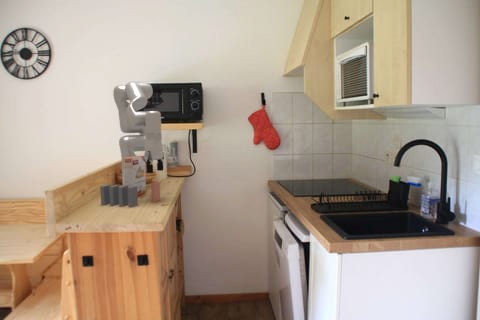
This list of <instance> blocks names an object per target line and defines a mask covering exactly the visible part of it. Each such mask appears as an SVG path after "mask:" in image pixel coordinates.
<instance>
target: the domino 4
mask: <svg viewBox="0 0 480 320" xmlns="http://www.w3.org/2000/svg"><path fill="white" fill-rule="evenodd" d="M138 197H139V196H138V194H137V186H132V187H129V188H128V205H127V206H128V208H134V207H136V206H138V205H139V200H138V199H139V198H138ZM133 206H134V207H133Z"/></svg>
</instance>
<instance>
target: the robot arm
mask: <svg viewBox="0 0 480 320" xmlns="http://www.w3.org/2000/svg"><path fill="white" fill-rule="evenodd" d="M153 92H154V90H153V86H152V85H151V83H149V82H147V81H130V82H128V83H126V84H120V85H116V86H115V87H113V91H112V93H113V94H112V96H113V100H114V103H115V105H116V108H117V111H118V120H119V129H120V131H121V132H122V133H123V134H128V135H123V136H120V138H119V141H118V145H119V150H120V156H121V173H122V174H121V175H122V177H121V178H122V186H124V166H123V158H127V157H133V156H137V155H136V152H144V155H143V156H144V159H145V168H146V174H154V167H153V166H154V165H153V163H154V161H156V168H157V169H156V171H161V172H163V171H164V159H165V152H164V149H163V142H162V140H163V139H162V117H161V115H162V113H161V112H160V111H159V110H158V111H157V110H149V111H140V110H141V109H144V108H145V107H146V105H147V103H148V99H150V98H152V97H153Z"/></svg>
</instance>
